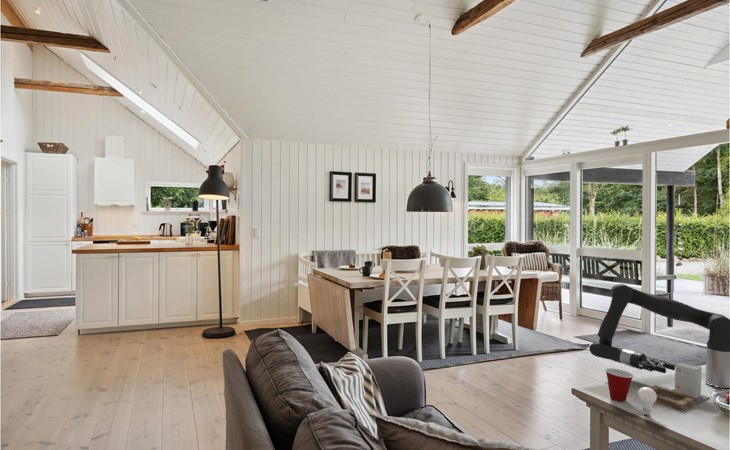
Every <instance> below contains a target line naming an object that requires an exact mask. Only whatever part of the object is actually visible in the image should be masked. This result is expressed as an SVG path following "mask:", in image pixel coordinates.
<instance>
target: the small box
mask: <svg viewBox="0 0 730 450" xmlns="http://www.w3.org/2000/svg"><path fill="white" fill-rule="evenodd" d="M674 371H675V374H674V376H675V377H674V389H675V392H678V393H681V394H684V395H688V396H691V397H694V398H698V397H700V396H701V395H702V366H700V365H696V364H691V363H687V362H682V361H680V362H678V363H675V370H674Z"/></svg>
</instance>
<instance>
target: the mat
mask: <svg viewBox="0 0 730 450" xmlns="http://www.w3.org/2000/svg"><path fill="white" fill-rule="evenodd" d="M672 391H675V388H674V389H672ZM708 398H710V399H711V397H710V396H707V395H704V394H701V396H700V397H698V398H697V404H700V403H703V402H705V401H708V400H709V399H708ZM697 404H696V405H697Z"/></svg>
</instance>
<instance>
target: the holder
mask: <svg viewBox="0 0 730 450" xmlns="http://www.w3.org/2000/svg"><path fill="white" fill-rule="evenodd" d="M649 388H651V389H653V390H654V391H655V393H656V395H657V400H656V402H655V403H656V404H659V405H662V406H665V407H668V408H670V409H674V410H676V411H679V412H683V411H685V410H687V409H690V408H691V407H694V406H696V405H697V398H694V397H691V396H688V395H684V394H681V393H678V392H675V391H672V390H673V389H672V390H671V389H669V388H666V387H662V386H659V385H653V386H650V387H649Z"/></svg>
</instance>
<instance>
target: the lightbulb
mask: <svg viewBox="0 0 730 450" xmlns="http://www.w3.org/2000/svg"><path fill="white" fill-rule="evenodd" d="M657 395H658V394H657ZM657 395H656V393H655V391H654V390H653V389H651V388H650V387H649V386H648V387H647V386H642V387H640V388H639V389H638V391H637V398H638V399H639V401H640V403H641V407H642V414H643V413H644V414H646V415H649V416H651V413H652V411H651V409H652V408H653V405H654V404H655V403H656V400H657ZM644 414H643V415H644ZM646 415H645V416H646Z"/></svg>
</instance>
